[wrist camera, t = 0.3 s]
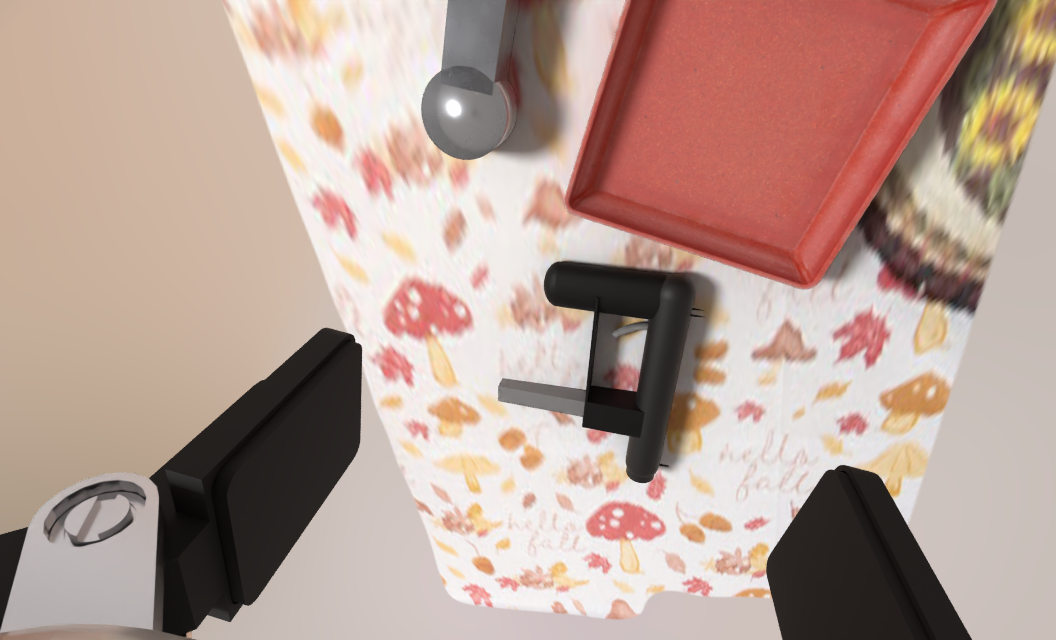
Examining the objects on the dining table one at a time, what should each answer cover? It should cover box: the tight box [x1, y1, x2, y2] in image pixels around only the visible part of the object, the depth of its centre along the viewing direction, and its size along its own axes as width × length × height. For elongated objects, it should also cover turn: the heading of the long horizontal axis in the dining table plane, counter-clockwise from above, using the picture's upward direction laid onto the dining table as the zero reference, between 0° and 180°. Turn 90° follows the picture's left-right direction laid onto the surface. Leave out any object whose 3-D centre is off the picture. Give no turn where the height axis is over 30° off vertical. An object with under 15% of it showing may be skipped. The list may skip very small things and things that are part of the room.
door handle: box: [498, 262, 705, 483], centre depth 43 cm, size 3×20×16 cm
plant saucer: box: [564, 0, 998, 289], centre depth 31 cm, size 18×18×3 cm
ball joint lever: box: [421, 0, 520, 160], centre depth 31 cm, size 16×6×4 cm, turn 169°
